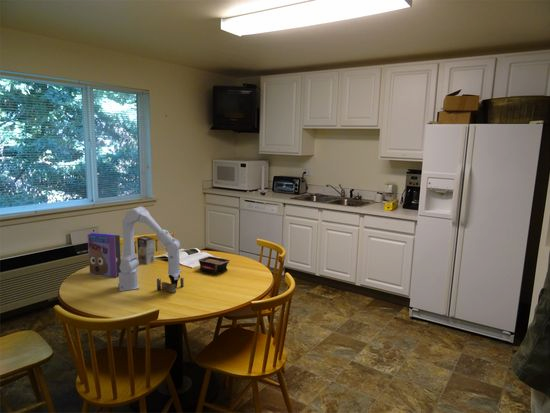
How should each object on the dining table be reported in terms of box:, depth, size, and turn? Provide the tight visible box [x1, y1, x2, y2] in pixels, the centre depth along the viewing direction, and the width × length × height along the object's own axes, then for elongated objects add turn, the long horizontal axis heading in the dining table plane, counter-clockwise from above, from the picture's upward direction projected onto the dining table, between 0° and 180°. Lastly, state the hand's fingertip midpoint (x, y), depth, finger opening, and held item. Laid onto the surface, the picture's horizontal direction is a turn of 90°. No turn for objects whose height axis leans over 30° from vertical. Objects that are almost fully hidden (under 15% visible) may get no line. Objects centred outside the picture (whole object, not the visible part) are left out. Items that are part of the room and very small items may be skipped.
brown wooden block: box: [161, 281, 177, 294], centre depth 196 cm, size 8×2×4 cm, turn 63°
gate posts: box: [156, 277, 184, 292], centre depth 200 cm, size 14×2×6 cm, turn 114°
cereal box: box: [86, 232, 122, 279], centre depth 216 cm, size 17×5×24 cm, turn 76°
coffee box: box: [137, 235, 155, 265], centre depth 241 cm, size 9×6×16 cm
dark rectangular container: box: [198, 255, 231, 275], centre depth 228 cm, size 14×18×10 cm
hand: (174, 288), depth 197 cm, fingers closed
